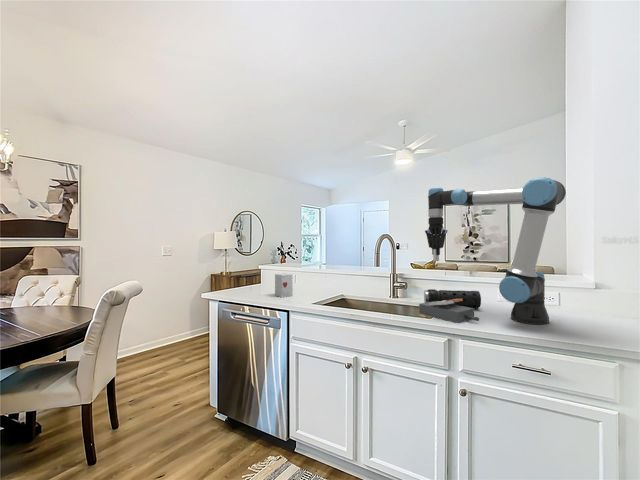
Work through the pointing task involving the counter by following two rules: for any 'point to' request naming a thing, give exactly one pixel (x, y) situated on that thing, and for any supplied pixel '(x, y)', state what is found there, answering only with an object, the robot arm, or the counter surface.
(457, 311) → the switch module
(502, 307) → the counter surface
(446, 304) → the light grey flat plate
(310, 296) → the counter surface
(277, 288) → the supplement box
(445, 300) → the orange slotted plate
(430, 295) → the muzzle brake
